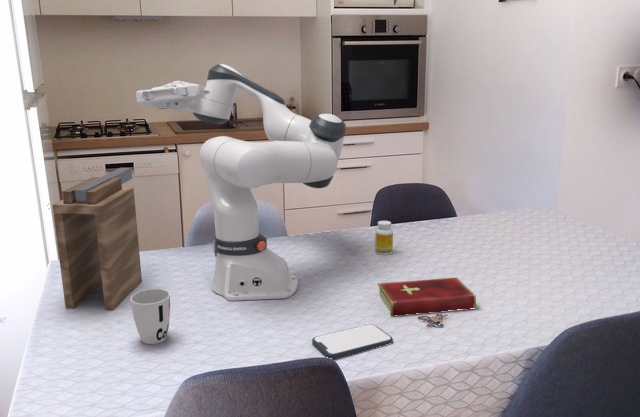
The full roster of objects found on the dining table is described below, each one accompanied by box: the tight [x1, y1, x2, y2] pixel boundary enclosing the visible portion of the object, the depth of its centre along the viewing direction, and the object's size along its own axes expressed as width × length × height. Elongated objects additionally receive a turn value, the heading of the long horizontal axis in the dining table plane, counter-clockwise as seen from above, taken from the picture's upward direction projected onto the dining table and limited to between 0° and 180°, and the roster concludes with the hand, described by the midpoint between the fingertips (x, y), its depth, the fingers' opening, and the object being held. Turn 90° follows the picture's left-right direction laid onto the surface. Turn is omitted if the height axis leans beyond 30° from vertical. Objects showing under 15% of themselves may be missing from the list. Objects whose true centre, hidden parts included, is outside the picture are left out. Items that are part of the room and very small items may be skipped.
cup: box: [130, 288, 171, 345], centre depth 128 cm, size 8×8×10 cm
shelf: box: [52, 176, 143, 311], centre depth 148 cm, size 12×18×29 cm, turn 174°
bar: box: [74, 167, 133, 203], centre depth 150 cm, size 3×26×3 cm, turn 174°
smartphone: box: [311, 323, 394, 360], centre depth 127 cm, size 9×2×16 cm
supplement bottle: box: [374, 220, 394, 256], centre depth 181 cm, size 5×5×10 cm
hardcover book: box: [377, 276, 477, 317], centre depth 146 cm, size 12×21×4 cm, turn 100°
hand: (158, 92), depth 167 cm, fingers open, 8 cm apart
